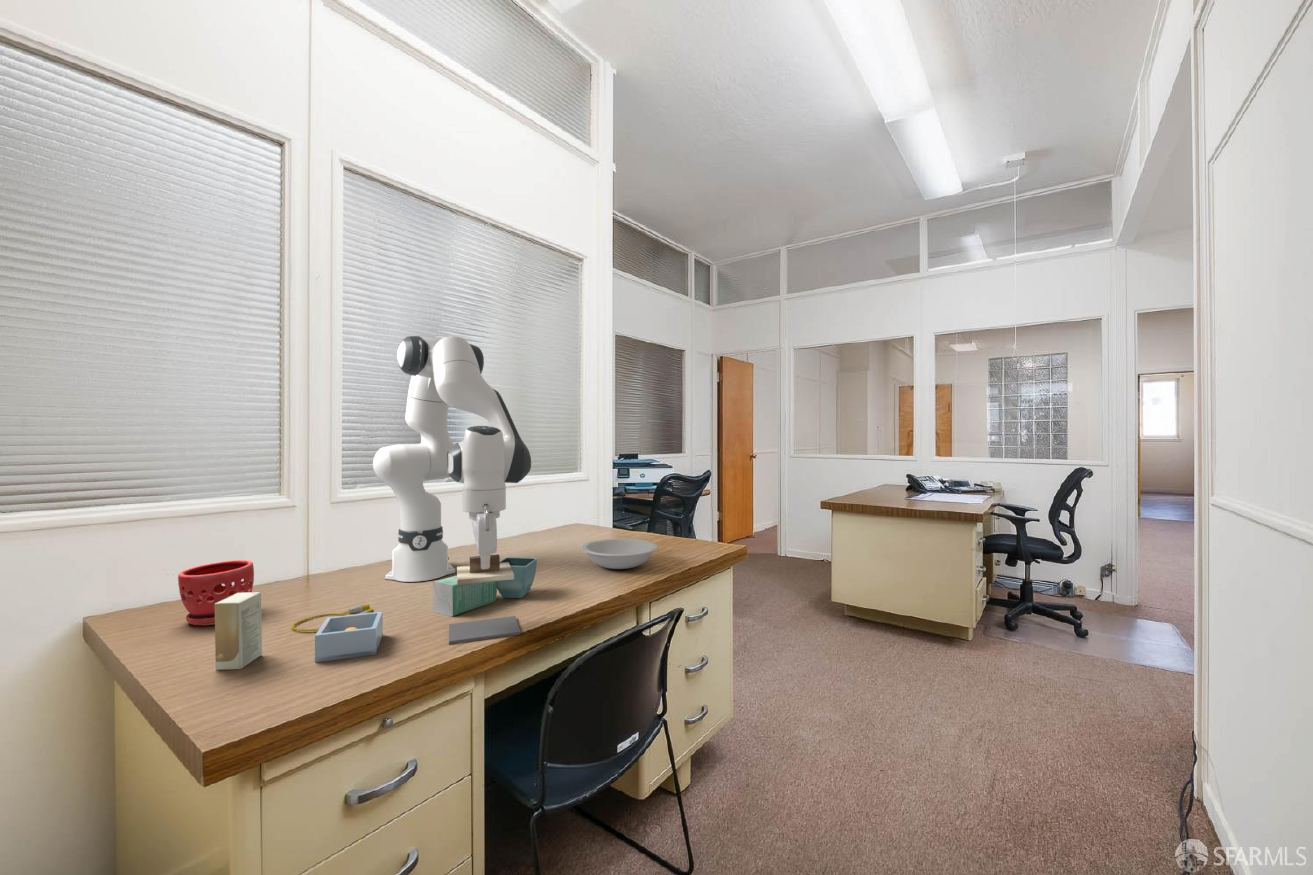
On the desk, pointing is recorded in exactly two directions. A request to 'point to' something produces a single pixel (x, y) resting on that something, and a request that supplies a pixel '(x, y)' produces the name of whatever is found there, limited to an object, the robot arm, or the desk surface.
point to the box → (461, 596)
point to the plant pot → (213, 587)
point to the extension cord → (356, 609)
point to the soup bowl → (619, 552)
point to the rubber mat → (483, 629)
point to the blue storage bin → (349, 636)
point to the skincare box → (238, 630)
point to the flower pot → (518, 577)
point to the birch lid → (484, 571)
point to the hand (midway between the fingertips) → (484, 566)
